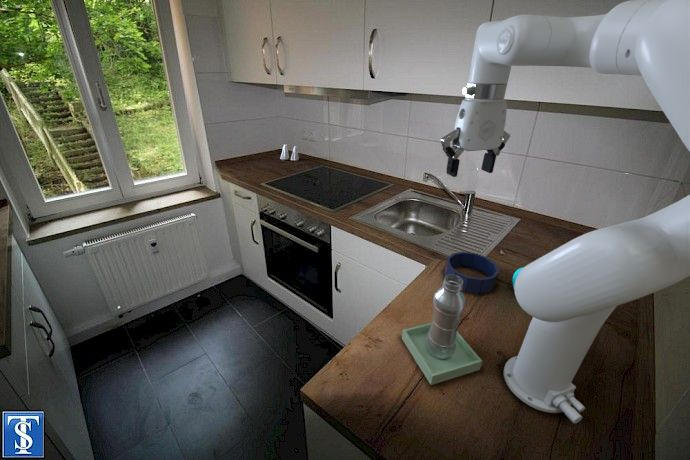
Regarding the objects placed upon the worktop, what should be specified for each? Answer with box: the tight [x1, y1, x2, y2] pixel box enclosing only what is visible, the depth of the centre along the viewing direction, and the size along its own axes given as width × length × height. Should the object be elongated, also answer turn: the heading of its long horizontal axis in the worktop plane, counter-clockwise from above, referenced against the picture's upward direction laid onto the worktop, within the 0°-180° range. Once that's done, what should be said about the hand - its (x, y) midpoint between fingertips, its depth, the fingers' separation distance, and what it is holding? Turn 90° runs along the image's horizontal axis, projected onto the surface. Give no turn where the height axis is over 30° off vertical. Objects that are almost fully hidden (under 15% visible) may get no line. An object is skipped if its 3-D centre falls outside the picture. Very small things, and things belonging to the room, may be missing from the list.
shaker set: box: [280, 143, 300, 162], centre depth 211 cm, size 12×4×11 cm, turn 97°
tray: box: [401, 322, 483, 386], centre depth 71 cm, size 13×12×3 cm
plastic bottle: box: [426, 274, 467, 359], centre depth 67 cm, size 6×7×20 cm
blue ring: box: [444, 251, 500, 295], centre depth 96 cm, size 15×15×5 cm
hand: (469, 173), depth 73 cm, fingers open, 9 cm apart
